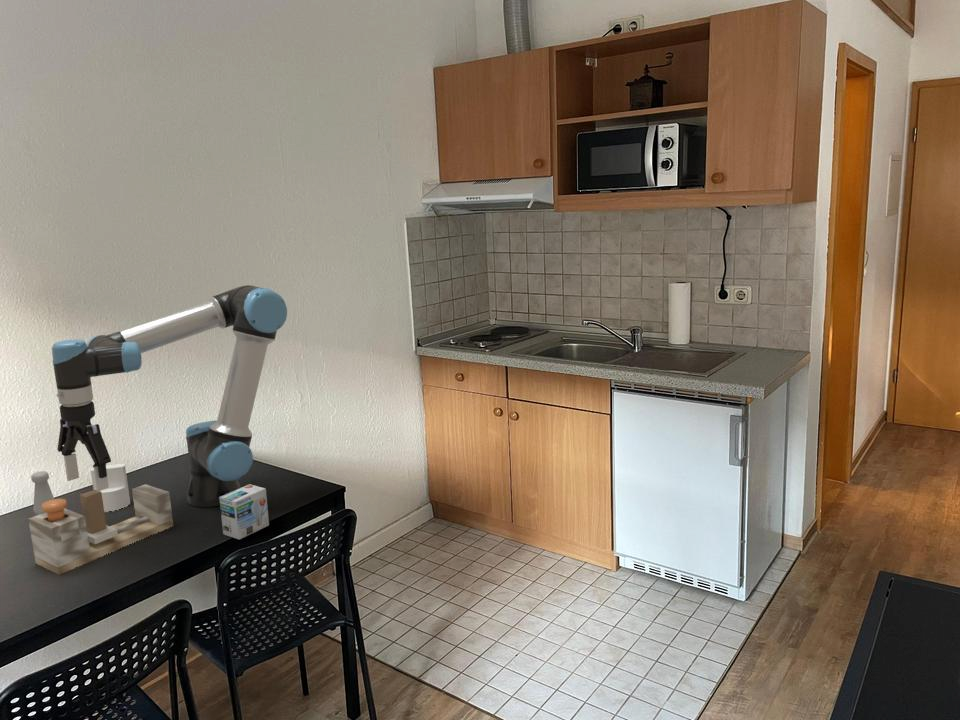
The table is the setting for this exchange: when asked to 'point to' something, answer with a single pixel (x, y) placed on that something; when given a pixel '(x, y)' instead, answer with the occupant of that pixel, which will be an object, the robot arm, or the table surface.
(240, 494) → the light bulb box
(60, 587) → the table surface
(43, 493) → the salt shaker
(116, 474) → the cylinder with rectangular tab
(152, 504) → the rail base
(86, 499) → the carriage
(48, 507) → the button
